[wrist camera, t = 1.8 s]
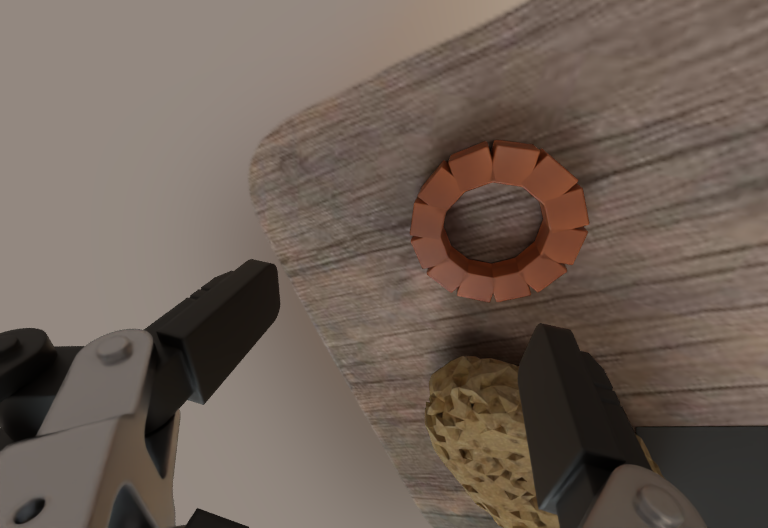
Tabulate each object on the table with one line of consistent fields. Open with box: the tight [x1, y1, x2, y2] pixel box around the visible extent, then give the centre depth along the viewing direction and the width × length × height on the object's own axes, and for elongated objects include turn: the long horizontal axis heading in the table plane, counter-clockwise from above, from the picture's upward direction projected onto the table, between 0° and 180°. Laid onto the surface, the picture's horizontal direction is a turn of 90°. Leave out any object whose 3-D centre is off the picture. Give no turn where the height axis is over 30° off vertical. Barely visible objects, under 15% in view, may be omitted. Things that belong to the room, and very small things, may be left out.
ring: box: [410, 140, 589, 302], centre depth 16 cm, size 8×8×2 cm
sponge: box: [425, 356, 664, 528], centre depth 20 cm, size 13×8×20 cm
